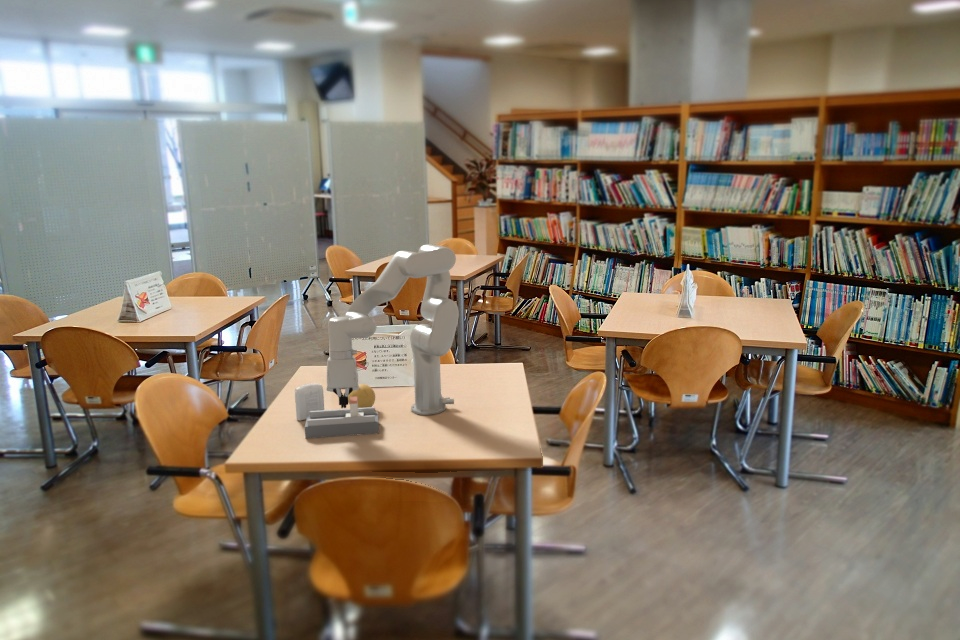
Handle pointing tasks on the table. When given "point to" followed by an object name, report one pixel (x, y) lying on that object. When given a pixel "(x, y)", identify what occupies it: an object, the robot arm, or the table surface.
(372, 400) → the stress ball
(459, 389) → the table surface
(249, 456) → the table surface
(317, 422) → the gray slider track
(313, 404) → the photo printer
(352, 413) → the knob
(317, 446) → the table surface
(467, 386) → the table surface
